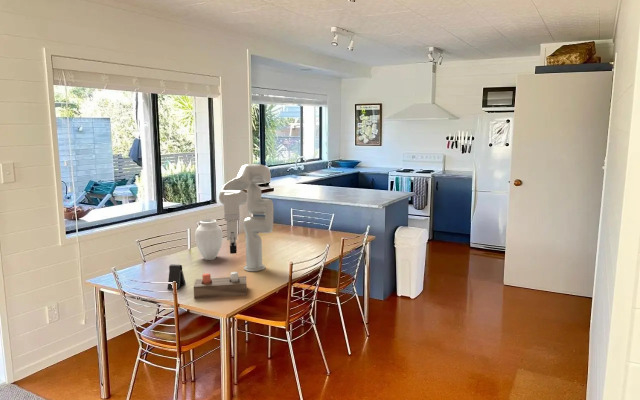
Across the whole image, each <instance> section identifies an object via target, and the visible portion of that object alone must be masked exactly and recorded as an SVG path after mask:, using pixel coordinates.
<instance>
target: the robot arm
mask: <svg viewBox="0 0 640 400" xmlns="http://www.w3.org/2000/svg"><path fill="white" fill-rule="evenodd" d="M271 176H272V174H271V172H270V169H269V168H268V167H266V166H265V165H263V164H259V163H257V164H253V163H251V164H247V163H246V164H244V165H243V164H242V166H241V167H240V169H239V171H238V173H237V175H236V177H235V178H233V179H230V180H229V181H227V182H226V183H224V185H223V186H222V187H221V190H220V191H219V196H218V199H219V200H218V201H219V202H220V204H222V205H223V215H224V217H223V218H224V221H226V241H229V253H230V254H232V255H233V254H237V251H238V250H237V248H238V247H237V242H236V241H237V239H238V221H240V218H241V217H240V206H242V205H244V204H246V212H247V213H248V214H249V215H259V216H248V217H245V218H244V220H243V223H242V225H243V226H242V227H243V232H244V236H245V241H244V242H245V264H246V265H244V267H243V269H244V271H247V272H259V271H263V270H265V269H266V266H265V265H264V264H263V247H262V246H263V245H262V243H263V241H262V237H261V235H260V234H271V232H272V231H273V228H274V202H273V200H272V199H270V198H262V189H261V187H260V185H258V184H267V183H269V182H270V181H271V178H272V177H271ZM245 190H246V191H245ZM260 215H264V216H260Z"/></svg>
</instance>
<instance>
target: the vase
mask: <svg viewBox="0 0 640 400" xmlns="http://www.w3.org/2000/svg"><path fill="white" fill-rule="evenodd" d="M199 223H200V224H199V225H198V227H197V228H196V229H195V230H194V231H195V232H194V240H195V244H196V248H197V249H198V252H199V253H200V255H201V256H202V258H203V259H204V260H205V261H209V260H210V261H212V260H215V259H216V257H217V256H218V255H219V252H220V250H221V248H222V245H223V239H224V232H223V230H222V228H221V226H220V225H218V223H217V220H216V219H214V218H213V219H211V218H208V219H202V220H199Z"/></svg>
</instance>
